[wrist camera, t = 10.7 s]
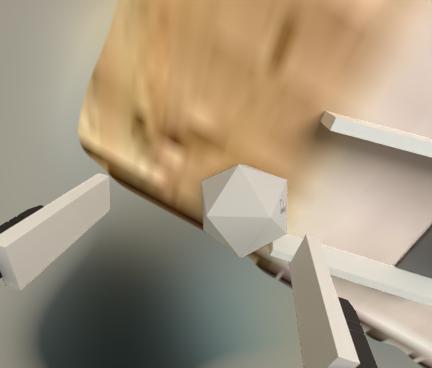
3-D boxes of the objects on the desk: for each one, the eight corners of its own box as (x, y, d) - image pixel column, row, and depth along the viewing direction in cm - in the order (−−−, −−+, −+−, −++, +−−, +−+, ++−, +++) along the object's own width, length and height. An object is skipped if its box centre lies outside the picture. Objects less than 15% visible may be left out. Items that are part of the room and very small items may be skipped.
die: (258, 228, 27) (315, 259, 18) (190, 238, 25) (218, 280, 16) (257, 163, 27) (316, 162, 18) (187, 165, 24) (215, 165, 15)
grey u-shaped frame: (553, 169, 18) (612, 189, 15) (429, 284, 25) (451, 313, 22) (325, 110, 19) (336, 117, 16) (269, 234, 27) (269, 255, 24)
